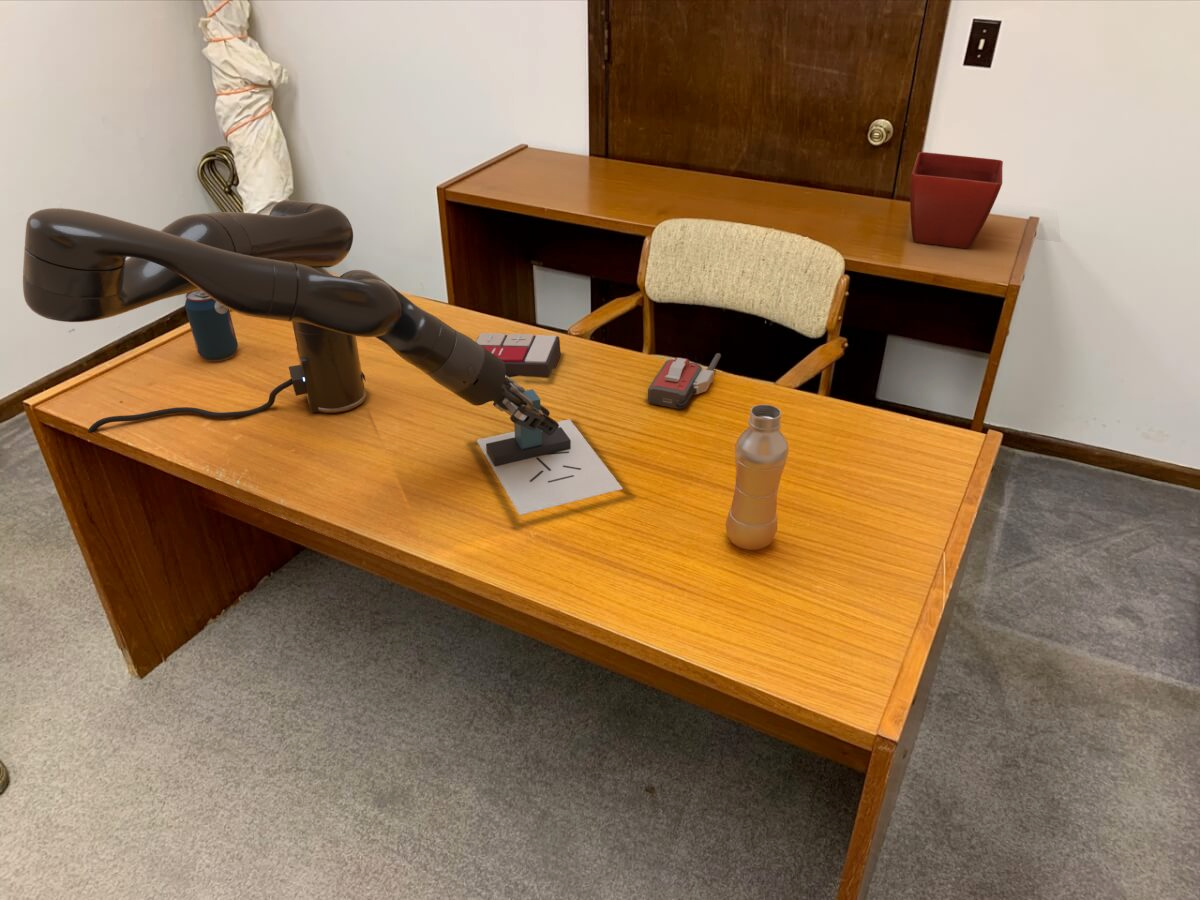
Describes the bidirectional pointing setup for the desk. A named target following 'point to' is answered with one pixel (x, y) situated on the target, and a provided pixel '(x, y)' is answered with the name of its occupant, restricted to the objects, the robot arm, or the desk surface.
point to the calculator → (523, 352)
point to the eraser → (527, 441)
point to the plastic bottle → (757, 479)
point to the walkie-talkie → (680, 382)
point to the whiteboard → (553, 474)
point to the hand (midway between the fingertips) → (549, 423)
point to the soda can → (210, 327)
